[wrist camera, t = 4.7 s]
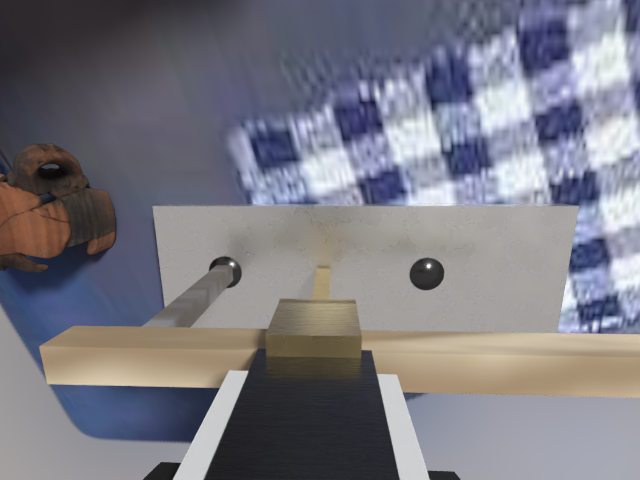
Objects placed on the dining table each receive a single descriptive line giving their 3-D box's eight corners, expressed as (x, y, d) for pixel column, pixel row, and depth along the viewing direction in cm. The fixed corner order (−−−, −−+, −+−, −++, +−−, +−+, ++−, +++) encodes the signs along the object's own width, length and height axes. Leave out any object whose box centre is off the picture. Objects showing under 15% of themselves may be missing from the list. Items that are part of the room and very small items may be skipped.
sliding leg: (294, 249, 27) (120, 610, 5) (352, 249, 27) (446, 627, 5) (295, 299, 28) (155, 787, 6) (351, 299, 28) (425, 807, 6)
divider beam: (180, 261, 28) (39, 346, 15) (545, 263, 27) (762, 359, 13) (183, 282, 29) (47, 384, 15) (541, 285, 27) (747, 400, 14)
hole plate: (164, 203, 29) (152, 206, 27) (561, 203, 28) (579, 206, 26) (177, 321, 32) (167, 332, 30) (541, 327, 30) (556, 338, 28)
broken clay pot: (116, 275, 32) (4, 304, 25) (73, 223, 35) (-36, 236, 28) (131, 168, 26) (-7, 168, 19) (78, 118, 30) (-55, 104, 23)
